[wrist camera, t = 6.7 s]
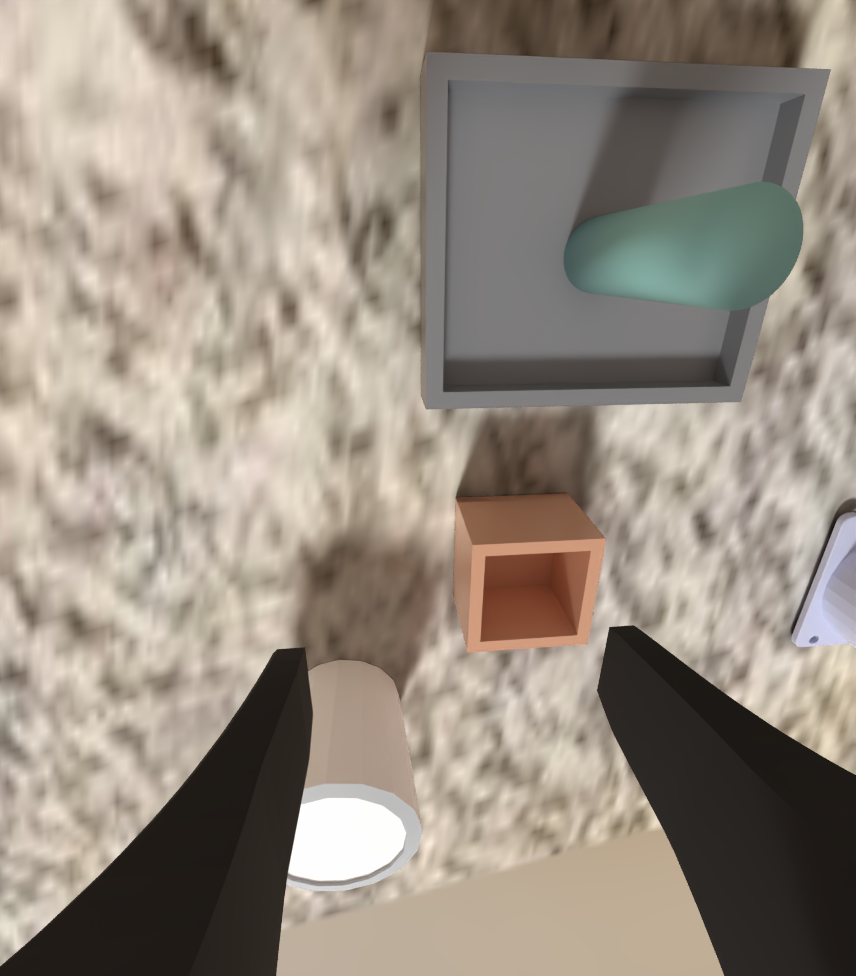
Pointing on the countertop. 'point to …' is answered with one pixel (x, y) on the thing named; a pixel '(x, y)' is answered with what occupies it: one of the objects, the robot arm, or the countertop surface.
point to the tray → (574, 199)
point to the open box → (524, 571)
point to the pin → (691, 248)
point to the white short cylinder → (354, 783)
